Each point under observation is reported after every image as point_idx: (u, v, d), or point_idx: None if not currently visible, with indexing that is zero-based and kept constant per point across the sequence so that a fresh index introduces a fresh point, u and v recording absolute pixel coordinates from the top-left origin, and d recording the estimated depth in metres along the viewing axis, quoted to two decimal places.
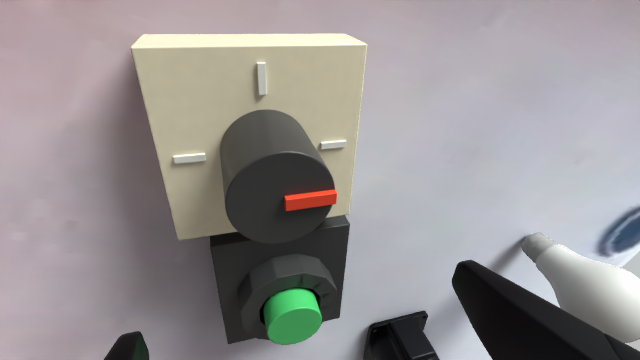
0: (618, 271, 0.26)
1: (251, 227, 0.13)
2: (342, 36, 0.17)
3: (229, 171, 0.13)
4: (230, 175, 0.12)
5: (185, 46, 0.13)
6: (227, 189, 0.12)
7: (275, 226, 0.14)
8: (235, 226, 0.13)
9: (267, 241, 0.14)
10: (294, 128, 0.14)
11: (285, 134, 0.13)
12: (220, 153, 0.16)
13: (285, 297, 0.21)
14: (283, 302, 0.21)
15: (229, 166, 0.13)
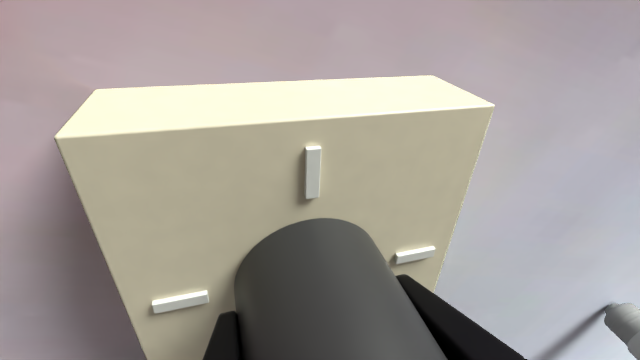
0: None
1: None
2: (435, 83, 0.10)
3: None
4: None
5: (169, 128, 0.07)
6: None
7: None
8: None
9: None
10: (375, 270, 0.08)
11: (370, 306, 0.07)
12: (235, 296, 0.09)
13: None
14: None
15: None
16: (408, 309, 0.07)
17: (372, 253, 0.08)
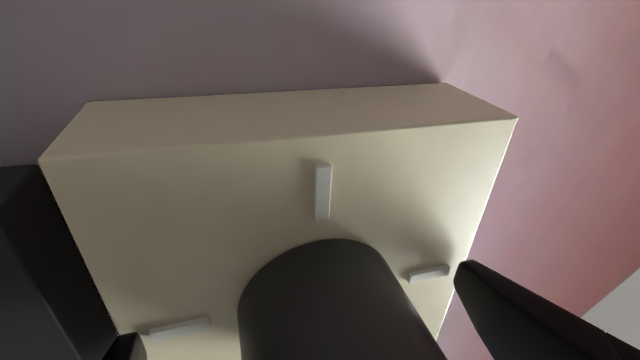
0: None
1: None
2: None
3: None
4: None
5: (492, 185, 0.09)
6: None
7: None
8: None
9: None
10: (391, 299, 0.07)
11: (388, 344, 0.06)
12: (238, 324, 0.08)
13: None
14: None
15: None
16: (429, 344, 0.07)
17: (386, 278, 0.08)
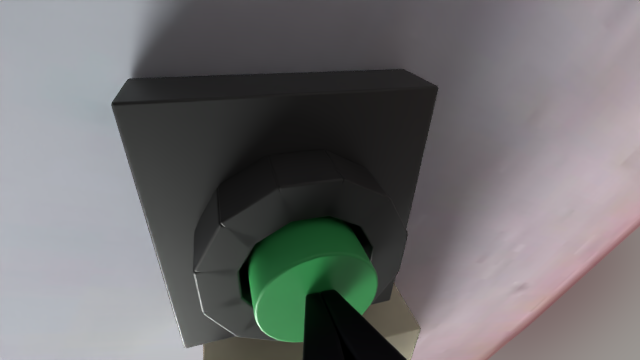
0: None
1: None
2: None
3: None
4: None
5: None
6: None
7: None
8: None
9: None
10: None
11: None
12: None
13: None
14: None
15: None
16: None
17: None
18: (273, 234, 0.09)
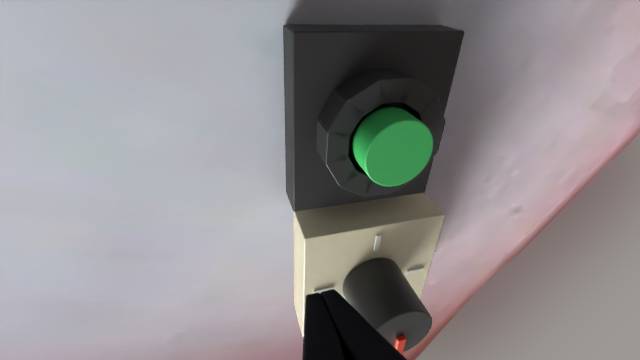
0: None
1: (388, 326, 0.20)
2: None
3: (415, 300, 0.20)
4: (418, 305, 0.20)
5: None
6: (417, 309, 0.20)
7: None
8: (392, 319, 0.19)
9: None
10: None
11: None
12: (382, 262, 0.23)
13: None
14: None
15: (412, 295, 0.21)
16: None
17: None
18: (372, 116, 0.16)
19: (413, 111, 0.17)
